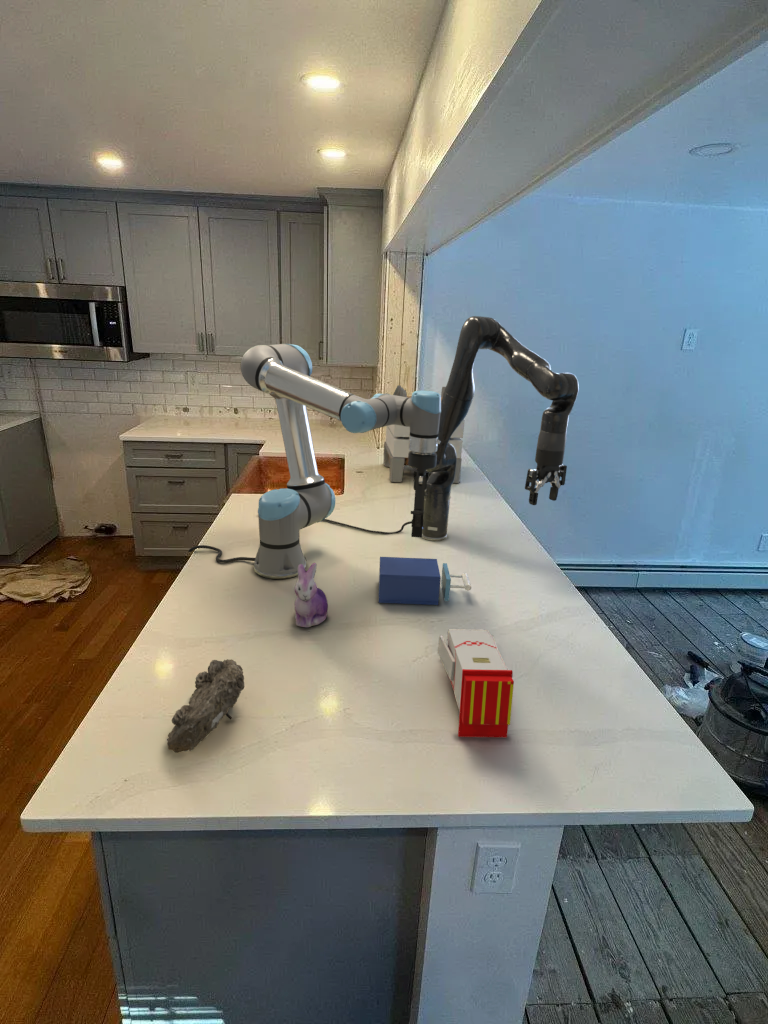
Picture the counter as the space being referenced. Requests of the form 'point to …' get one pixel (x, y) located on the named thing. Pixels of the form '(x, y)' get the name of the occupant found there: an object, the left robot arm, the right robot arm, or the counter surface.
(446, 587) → the drawer
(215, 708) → the fossil
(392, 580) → the cabinet
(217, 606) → the counter surface
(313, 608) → the figurine
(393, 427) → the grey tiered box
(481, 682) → the toy
